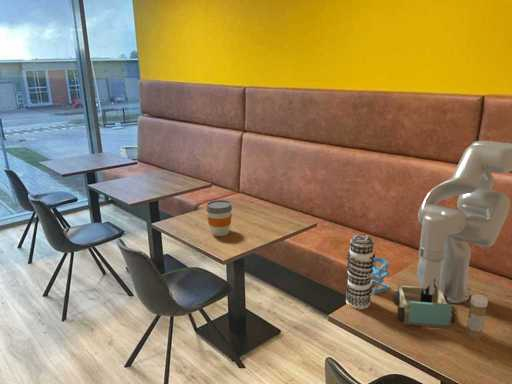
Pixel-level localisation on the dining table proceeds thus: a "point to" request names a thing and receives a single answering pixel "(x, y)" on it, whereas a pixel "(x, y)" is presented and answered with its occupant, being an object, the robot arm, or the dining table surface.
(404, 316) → the cargo bed
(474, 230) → the robot arm
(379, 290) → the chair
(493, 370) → the dining table surface
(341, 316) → the dining table surface
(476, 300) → the sprinkles bottle
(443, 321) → the tailgate
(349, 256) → the black white patterned cylinder
